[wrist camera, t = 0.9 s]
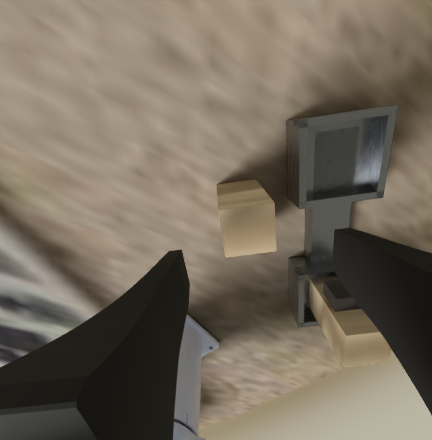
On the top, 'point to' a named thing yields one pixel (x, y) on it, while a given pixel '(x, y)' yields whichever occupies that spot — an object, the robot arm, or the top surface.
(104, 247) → the top surface
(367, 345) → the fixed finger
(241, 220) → the beige wooden block
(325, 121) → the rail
